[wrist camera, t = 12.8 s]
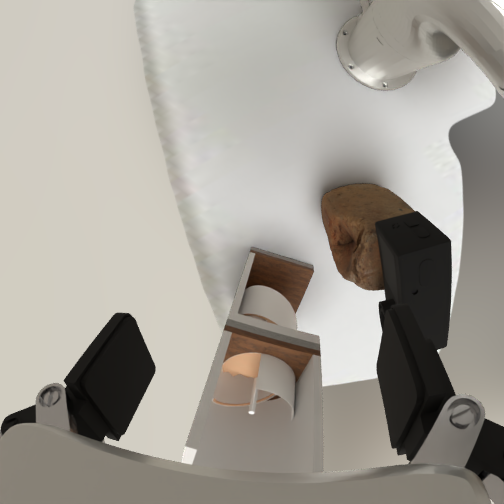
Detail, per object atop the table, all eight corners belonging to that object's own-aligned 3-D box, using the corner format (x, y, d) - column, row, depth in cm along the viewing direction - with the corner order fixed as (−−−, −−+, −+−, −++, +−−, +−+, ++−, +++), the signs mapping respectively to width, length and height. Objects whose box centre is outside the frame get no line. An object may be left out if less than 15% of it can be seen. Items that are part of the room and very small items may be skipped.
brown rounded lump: (387, 182, 41) (445, 227, 23) (384, 228, 44) (432, 295, 26) (318, 182, 43) (336, 228, 25) (319, 229, 46) (333, 301, 28)
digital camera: (361, 223, 24) (382, 259, 18) (416, 209, 23) (452, 240, 17) (376, 317, 28) (391, 365, 22) (423, 303, 27) (447, 347, 20)
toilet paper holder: (290, 317, 54) (275, 505, 22) (235, 301, 54) (176, 483, 22) (313, 265, 49) (323, 474, 17) (251, 246, 49) (185, 446, 17)
